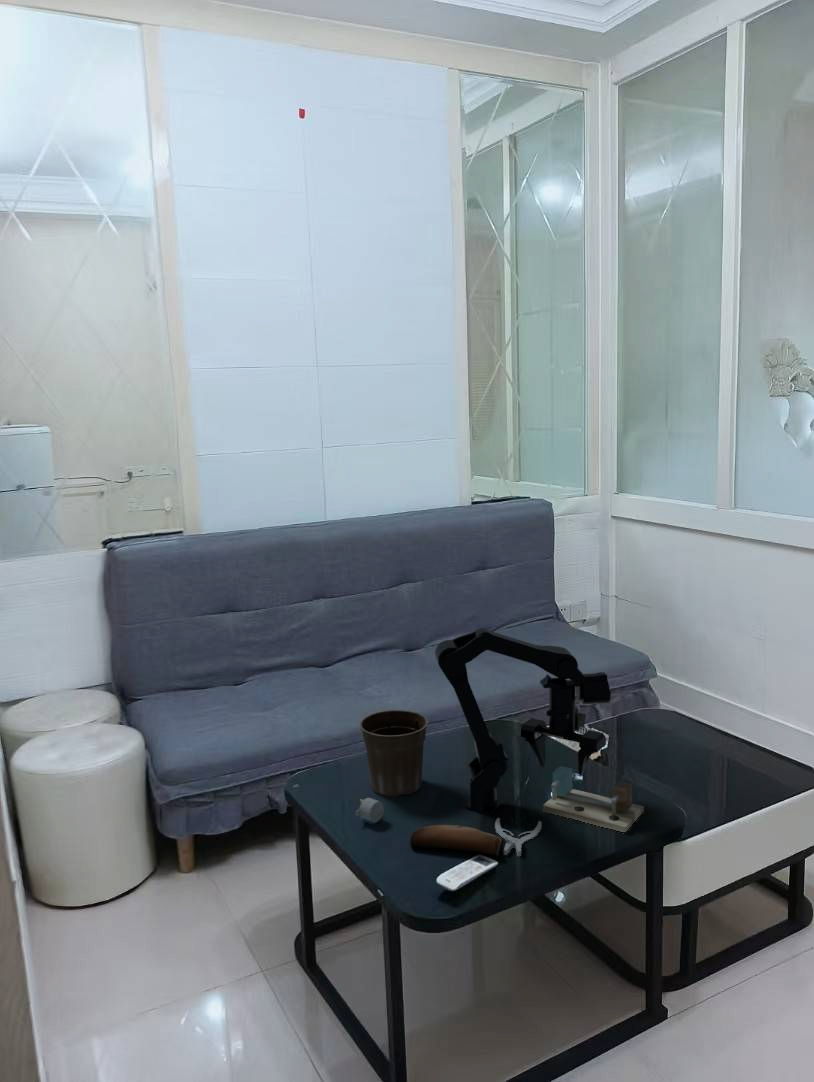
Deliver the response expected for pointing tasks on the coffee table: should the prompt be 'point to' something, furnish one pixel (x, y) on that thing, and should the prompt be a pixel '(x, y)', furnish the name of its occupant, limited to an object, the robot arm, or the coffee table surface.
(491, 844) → the sunglasses case
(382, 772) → the plant pot
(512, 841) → the pliers
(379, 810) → the electric motor
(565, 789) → the teal block
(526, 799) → the coffee table surface
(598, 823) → the beige board with blocks
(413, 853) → the coffee table surface
